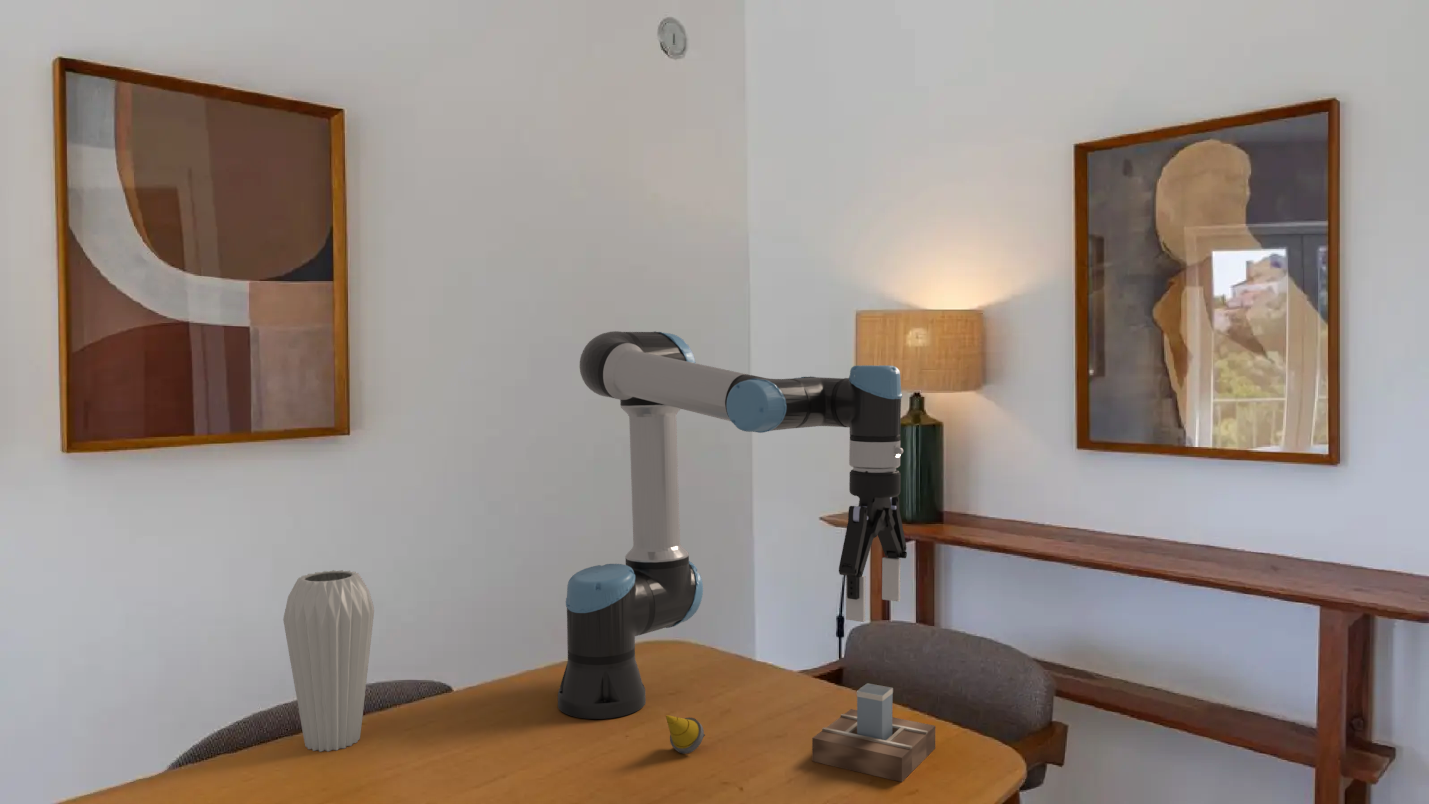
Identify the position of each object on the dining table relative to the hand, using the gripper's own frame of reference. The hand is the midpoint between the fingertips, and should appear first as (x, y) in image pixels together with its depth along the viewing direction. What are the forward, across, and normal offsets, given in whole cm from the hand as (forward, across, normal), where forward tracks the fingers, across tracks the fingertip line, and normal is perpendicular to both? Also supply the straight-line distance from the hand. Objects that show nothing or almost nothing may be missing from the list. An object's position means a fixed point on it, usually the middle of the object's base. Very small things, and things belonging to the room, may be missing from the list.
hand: (874, 610), depth 147 cm
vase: (+23, -39, +75) cm, 87 cm away
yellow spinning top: (+22, -14, +25) cm, 36 cm away
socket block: (+22, 0, 0) cm, 22 cm away
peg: (+22, 0, 0) cm, 22 cm away
